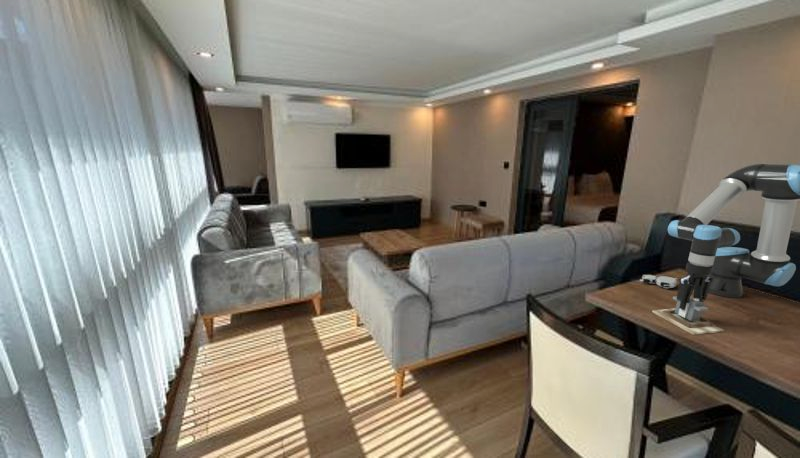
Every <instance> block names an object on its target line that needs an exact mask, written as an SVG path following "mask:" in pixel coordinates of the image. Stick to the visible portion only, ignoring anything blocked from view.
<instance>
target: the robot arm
mask: <svg viewBox="0 0 800 458" xmlns="http://www.w3.org/2000/svg"><path fill="white" fill-rule="evenodd" d="M750 191H755V192H761V195H760V196H761V198H762V199H763V200H765V203H764V208H763V214H762V217H761V222H760V223H761V224H760V230H759V234H758V235H759V236H758V239H757V245H756V246H757V247H756V249H755V250H753V251H752V252H751V253H750V250H749V249H748V248H743V247H736V246H735V245H737V244H738V243H739V242H740V240H741V235H740V232H739V231H738V230H736V229H734V228H729V227H722V228H721V227H720V226H717V225H711V224H709V223H710V222H711V221H712V220H714V218H716V217H717V216H718V215H719V214H720V213H721V212H722V211H723V210H725V208H726V207H727V206H729V205H730V203H732V202H733V201H734V200H735V199H736V198H737V197H738V196H742V195H744V194H745V193H746V192H750ZM799 201H800V165H798V164H772V163H771V164H770V163H767V164H766V163H756V164H755V163H754V164H751V165H747V166H744V167H741V168H739V169H737V170H735V171H733V172H731V173H729V174H727V176H724V177H723V178H722V180H721V181H719V183H718V187H717V188H716V189H715V190H714V191H713V192H711V193H710V194H709V195H708V196H707V197H705V198H704V200H703V201H701V203H700V204H698V205H697V207H695V208H694V209H693V210H691V212H690V213H689V214H688V215H687V216H685V218H684V219H682V220H680V219H678V220H677V219H676V220H672V221H670V223H669V224H668V226H667V232H668V235H669V236H671V237H675V238H676V239H677V238H678V239H683V240H687V241H691V246H690V250H689V256H688V259H687V260H688V261H687V263H686V266H685V271H686V272H687V274H685V277H680V278H678V283H679V284H678V289H677V295H676V296H677V300H679V301H681V302H680V307H679V308H680V309H679V313H678V315H680V316H682V317H684V318H686V316H687V312H688V308H689V304H690V303H688V301H689V299H690V297H692V294H693V298H698V299H699V300H700V301H702V302H704V303H705V301H706V300H707V297H708V293H710V294H712V295H717V296H720V297H723V298H731V299H738V298H742V297H743V294H744V289H743V285H742V278H744V279H747V280H751V281H755V282H758V283H762V284H764V285H769V286H773V287H781V286H785V284H787V283H788V282H789V281H790V280H791V279H792V277H793V276H794V274H795V272H796V270H797V267H796V264H795V263H793V262H791V257H790V255H788V254H787V249H788V244H789V240H790V235H791V232H792V231H791V230H792V225H793V222H794V217H795V212H796V207H797V203H798V202H799ZM733 246H735V247H733ZM677 300H676V301H677Z"/></svg>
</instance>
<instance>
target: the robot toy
mask: <svg viewBox="0 0 800 458" xmlns="http://www.w3.org/2000/svg"><path fill="white" fill-rule="evenodd" d="M677 280H678V278H677V277H670V276H665V275H661V276H658V277H657V276H656V275H652V274H642V276H641V277H640V279H639V282H643V283H644V284H648V283H649V284H651V285H652V284H653V285H655V284H656V285H657V286H659V287H662V288H663V289H666V290H667V289H672V288H675V287H676V286H677V285H678V281H677Z"/></svg>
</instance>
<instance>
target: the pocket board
mask: <svg viewBox="0 0 800 458" xmlns="http://www.w3.org/2000/svg"><path fill="white" fill-rule="evenodd" d="M652 313H653V314H655V315H656V316H658V317H660V318H662V319H664V320H666V321H667V322H670V323H672V324H673V325H675V326H676V327H679V328H681V329H682V330H684V331H686V332H687V333H689V334H691V335H692V336H693V335H694V336H695V335H704V334H714V333H715V334H717V333H724V332H725V329H723V328H721V327H719V326H716V324H714V322H713V321H711V320H709V319H708V318H705V317H703V316H700V320H696V321H690V320H688V319H686V318H684V317H682V316H680V315H678V314H677V313H675V308H665V309H653V310H652Z"/></svg>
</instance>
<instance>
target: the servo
mask: <svg viewBox="0 0 800 458" xmlns="http://www.w3.org/2000/svg"><path fill="white" fill-rule="evenodd" d="M693 297H694V296H693ZM693 297H692V296H691V297H690V299H689V301H688V303H690V304H689V308H688V312H687V316H686V319H688V320H690V321H696V320H700V316H701V315H702V312H703V311H704V312H705V311H707V312H708V311H709V307H706V306H704V305H705V301H704V302H702V301H703V300H702V301H700V300H699V299H698V298H693ZM672 299H673V300H675V301H676V304H675V308H674V309H675V313H677V314H678V313H679V309H680V308H679V307H680V302H681V301H679V300H677V295H676V296H672ZM701 317H702V316H701Z"/></svg>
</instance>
